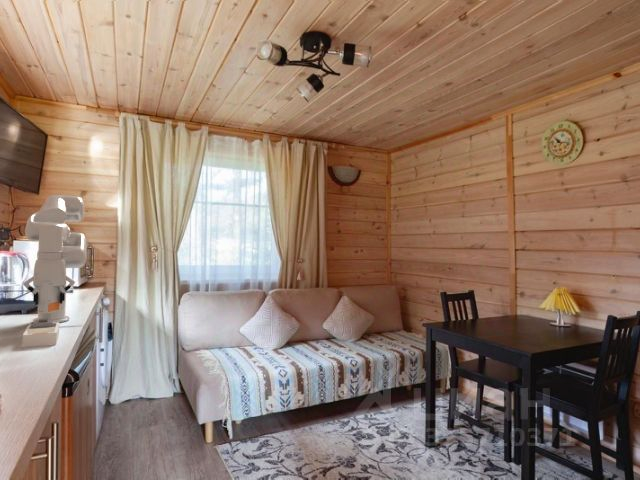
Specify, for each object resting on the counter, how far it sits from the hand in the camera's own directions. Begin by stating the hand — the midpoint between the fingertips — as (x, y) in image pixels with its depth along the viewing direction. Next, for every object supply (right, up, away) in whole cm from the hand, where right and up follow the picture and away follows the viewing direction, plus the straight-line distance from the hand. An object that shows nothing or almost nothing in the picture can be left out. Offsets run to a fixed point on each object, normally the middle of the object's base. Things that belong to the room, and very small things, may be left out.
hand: (49, 303), depth 149 cm
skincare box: (0, -4, 0) cm, 4 cm away
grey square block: (+5, -9, -10) cm, 15 cm away
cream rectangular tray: (+7, -10, -14) cm, 19 cm away
